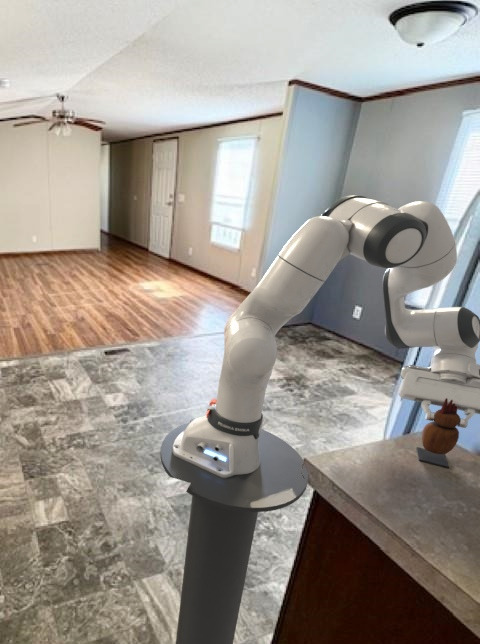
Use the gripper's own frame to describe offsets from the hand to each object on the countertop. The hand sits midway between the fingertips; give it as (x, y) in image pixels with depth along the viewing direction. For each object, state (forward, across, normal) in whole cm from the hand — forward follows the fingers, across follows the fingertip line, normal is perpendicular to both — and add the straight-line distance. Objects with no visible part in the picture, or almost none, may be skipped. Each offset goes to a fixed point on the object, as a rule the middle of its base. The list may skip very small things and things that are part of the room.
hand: (445, 423), depth 102 cm
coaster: (+7, 0, +8) cm, 11 cm away
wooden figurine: (+6, 0, +6) cm, 9 cm away
